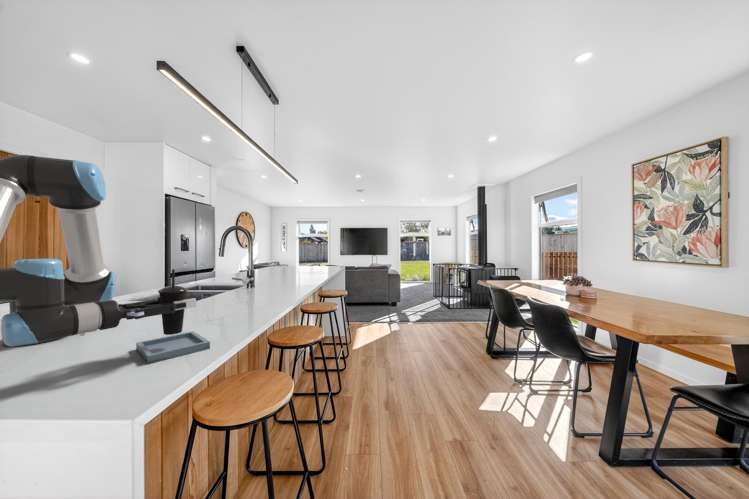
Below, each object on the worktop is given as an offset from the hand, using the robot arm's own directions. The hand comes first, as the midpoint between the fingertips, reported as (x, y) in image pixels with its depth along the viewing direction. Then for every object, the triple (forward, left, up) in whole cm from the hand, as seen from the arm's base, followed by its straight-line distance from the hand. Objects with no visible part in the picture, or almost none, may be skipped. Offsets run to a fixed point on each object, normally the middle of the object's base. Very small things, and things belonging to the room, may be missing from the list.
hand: (190, 301), depth 97 cm
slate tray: (+1, -5, -14) cm, 15 cm away
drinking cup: (+1, -5, -9) cm, 11 cm away
